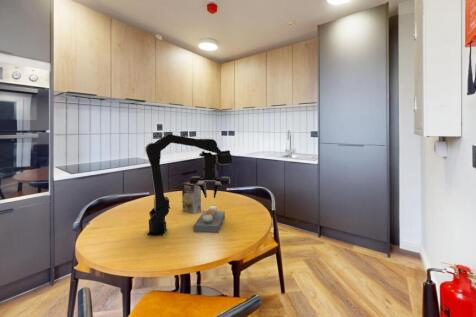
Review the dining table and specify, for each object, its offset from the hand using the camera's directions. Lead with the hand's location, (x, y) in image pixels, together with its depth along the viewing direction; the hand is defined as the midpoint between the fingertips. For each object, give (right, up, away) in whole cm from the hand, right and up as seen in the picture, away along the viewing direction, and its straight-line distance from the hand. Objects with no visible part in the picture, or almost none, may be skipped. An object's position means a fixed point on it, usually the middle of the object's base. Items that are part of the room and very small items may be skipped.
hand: (210, 197), depth 120 cm
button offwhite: (+1, -8, +7) cm, 11 cm away
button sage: (-1, -9, -6) cm, 11 cm away
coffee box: (-13, -11, +22) cm, 27 cm away
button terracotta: (0, -8, +1) cm, 9 cm away
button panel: (0, -13, +1) cm, 13 cm away
